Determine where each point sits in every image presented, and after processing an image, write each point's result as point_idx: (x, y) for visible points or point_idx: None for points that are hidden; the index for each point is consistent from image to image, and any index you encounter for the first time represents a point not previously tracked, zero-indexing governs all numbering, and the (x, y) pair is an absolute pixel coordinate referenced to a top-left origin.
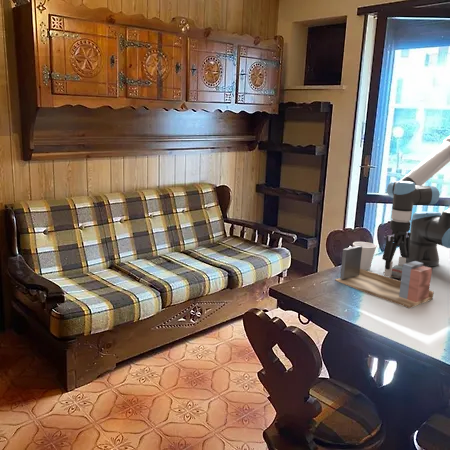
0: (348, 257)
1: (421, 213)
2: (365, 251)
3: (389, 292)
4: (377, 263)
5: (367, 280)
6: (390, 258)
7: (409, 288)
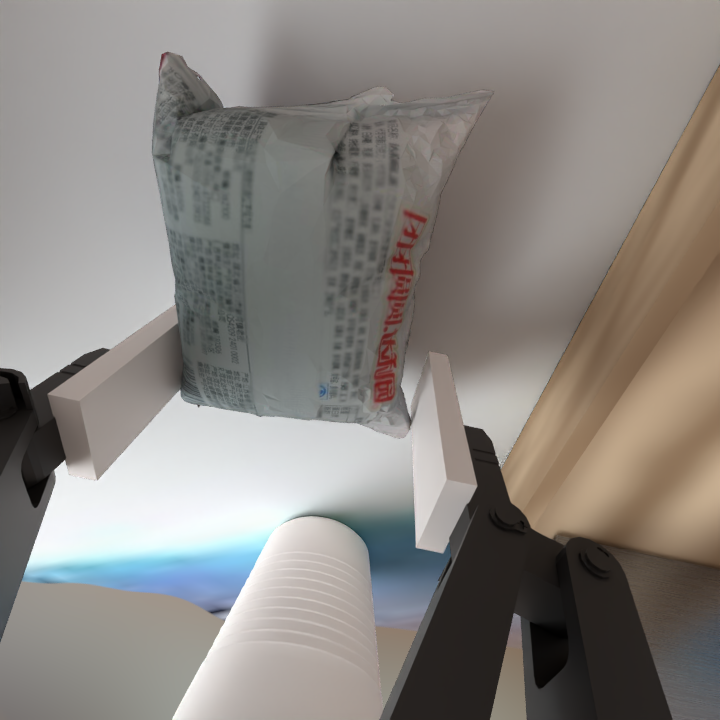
0: None
1: None
2: None
3: None
4: (103, 516)
5: (647, 465)
6: (524, 557)
7: None
